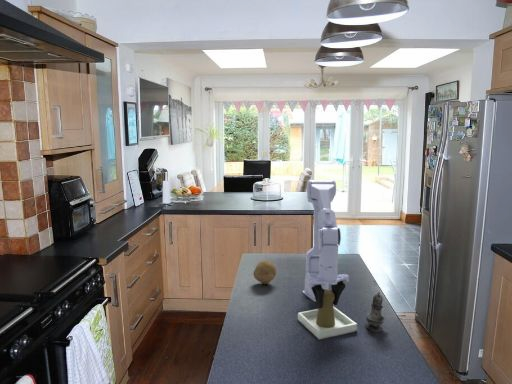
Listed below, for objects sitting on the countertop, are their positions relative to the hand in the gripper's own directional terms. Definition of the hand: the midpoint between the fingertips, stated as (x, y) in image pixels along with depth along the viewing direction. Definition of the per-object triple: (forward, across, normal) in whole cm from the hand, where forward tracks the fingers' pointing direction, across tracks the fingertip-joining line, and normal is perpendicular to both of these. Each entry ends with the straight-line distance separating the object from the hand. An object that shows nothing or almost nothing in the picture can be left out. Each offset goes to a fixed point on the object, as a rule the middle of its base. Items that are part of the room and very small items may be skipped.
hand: (327, 305), depth 128 cm
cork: (+6, 0, 0) cm, 7 cm away
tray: (+7, 0, 0) cm, 7 cm away
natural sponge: (+7, -5, +38) cm, 39 cm away
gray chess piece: (+7, +13, -7) cm, 16 cm away
